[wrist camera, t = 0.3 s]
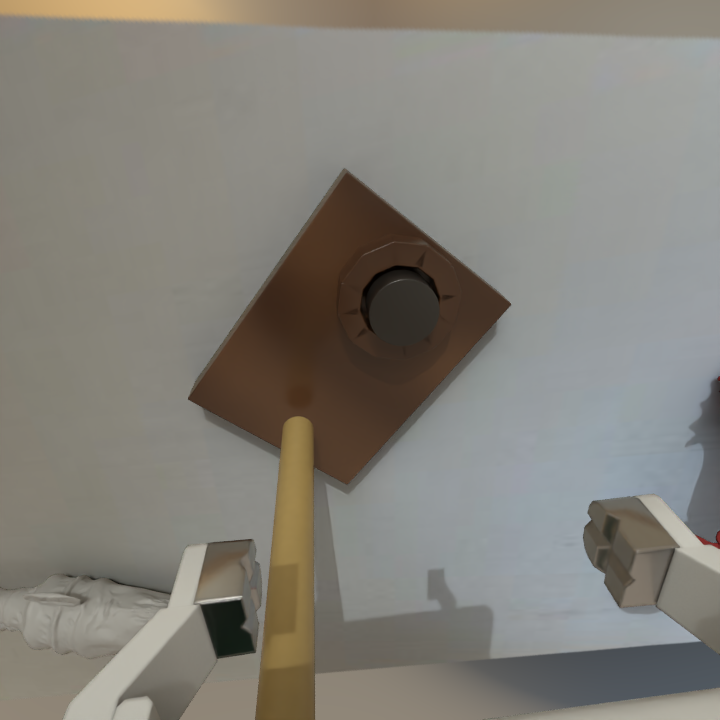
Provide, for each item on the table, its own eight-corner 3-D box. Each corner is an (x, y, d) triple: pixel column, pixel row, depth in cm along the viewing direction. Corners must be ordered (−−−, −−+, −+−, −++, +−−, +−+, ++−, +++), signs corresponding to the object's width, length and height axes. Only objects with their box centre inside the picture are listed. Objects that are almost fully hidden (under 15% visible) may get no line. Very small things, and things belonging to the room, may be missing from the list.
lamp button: (394, 255, 25) (399, 264, 23) (445, 294, 26) (454, 306, 25) (352, 309, 26) (354, 321, 24) (403, 344, 27) (408, 358, 26)
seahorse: (-11, 673, 40) (226, 679, 38) (-123, 634, 32) (175, 640, 30) (21, 605, 44) (239, 608, 42) (-72, 554, 35) (197, 556, 34)
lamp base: (344, 167, 26) (349, 175, 23) (499, 292, 30) (524, 315, 27) (195, 381, 31) (179, 416, 28) (345, 464, 35) (349, 504, 32)
